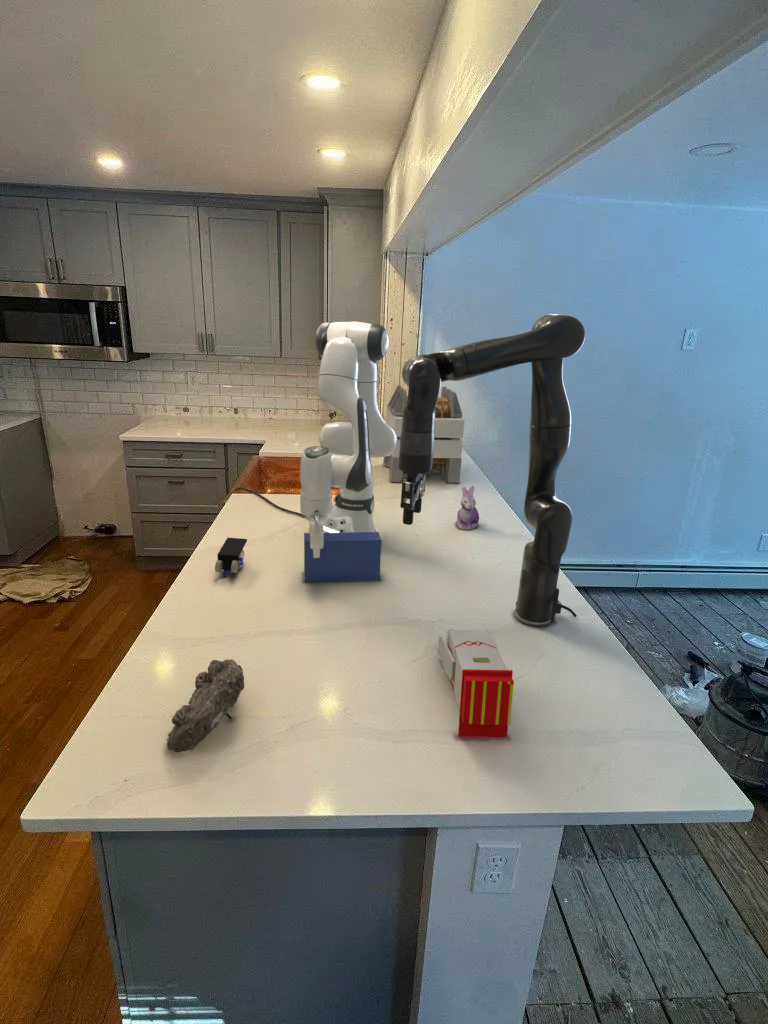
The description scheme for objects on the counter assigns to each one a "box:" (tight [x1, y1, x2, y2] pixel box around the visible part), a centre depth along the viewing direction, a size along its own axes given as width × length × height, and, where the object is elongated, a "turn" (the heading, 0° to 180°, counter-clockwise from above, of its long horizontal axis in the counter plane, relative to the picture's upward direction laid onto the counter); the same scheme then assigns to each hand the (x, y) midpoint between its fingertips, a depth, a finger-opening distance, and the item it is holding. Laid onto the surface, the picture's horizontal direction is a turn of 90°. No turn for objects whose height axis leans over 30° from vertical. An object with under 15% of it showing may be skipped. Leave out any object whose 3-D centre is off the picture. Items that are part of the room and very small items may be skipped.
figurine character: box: [214, 537, 248, 578], centre depth 166 cm, size 7×8×15 cm
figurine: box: [456, 485, 480, 530], centre depth 208 cm, size 9×10×15 cm
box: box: [303, 531, 382, 583], centre depth 164 cm, size 22×6×13 cm, turn 98°
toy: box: [437, 628, 515, 738], centre depth 117 cm, size 12×13×30 cm
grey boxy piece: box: [383, 384, 465, 484], centre depth 268 cm, size 34×33×41 cm
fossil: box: [166, 658, 245, 754], centre depth 106 cm, size 22×10×15 cm
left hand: (316, 550), depth 163 cm, fingers open, 7 cm apart
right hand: (412, 517), depth 132 cm, fingers open, 8 cm apart
